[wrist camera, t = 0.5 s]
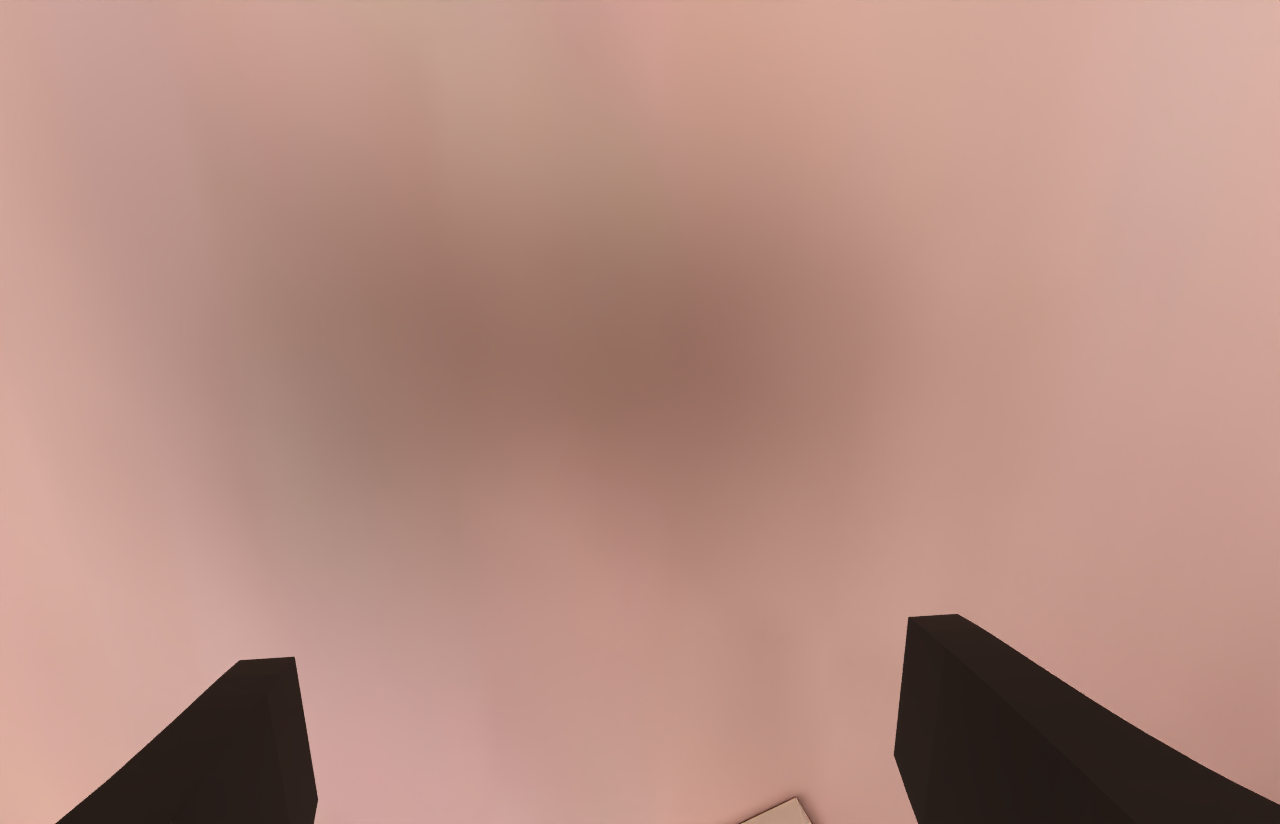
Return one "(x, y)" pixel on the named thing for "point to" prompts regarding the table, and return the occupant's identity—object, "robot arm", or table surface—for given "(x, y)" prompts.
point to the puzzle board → (782, 815)
